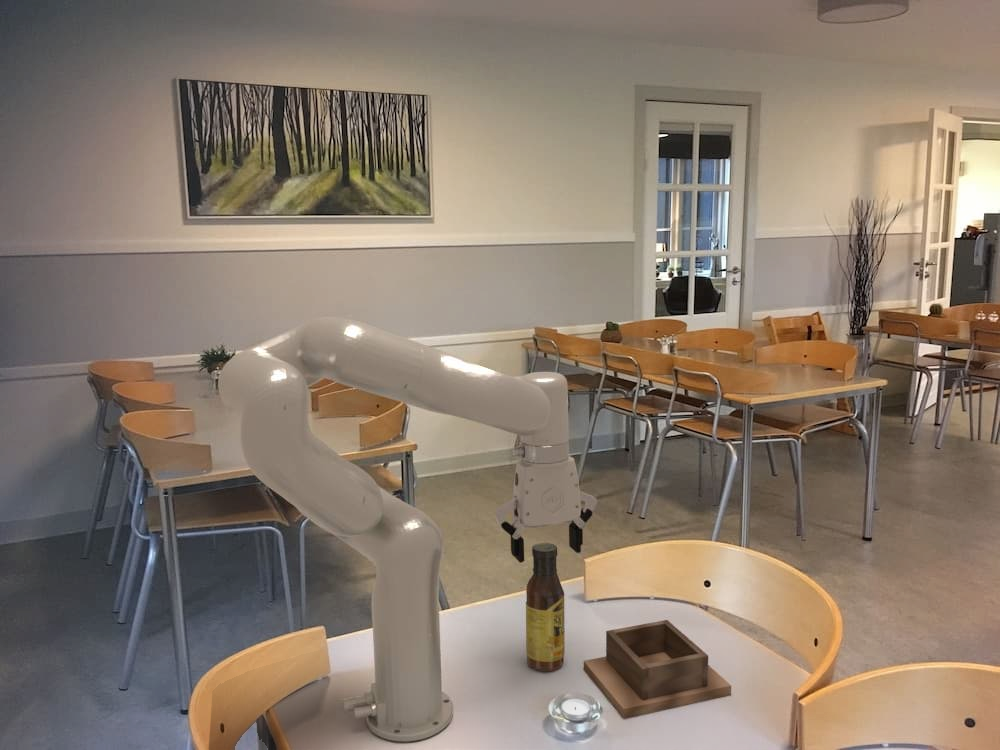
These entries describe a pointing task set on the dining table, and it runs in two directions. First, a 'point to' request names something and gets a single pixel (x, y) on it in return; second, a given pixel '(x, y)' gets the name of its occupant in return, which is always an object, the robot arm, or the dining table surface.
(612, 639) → the condiment caddy
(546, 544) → the sauce bottle
